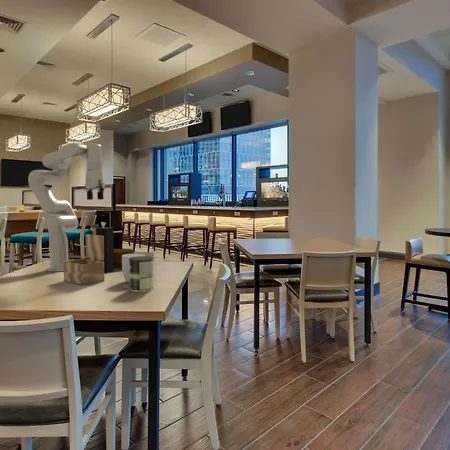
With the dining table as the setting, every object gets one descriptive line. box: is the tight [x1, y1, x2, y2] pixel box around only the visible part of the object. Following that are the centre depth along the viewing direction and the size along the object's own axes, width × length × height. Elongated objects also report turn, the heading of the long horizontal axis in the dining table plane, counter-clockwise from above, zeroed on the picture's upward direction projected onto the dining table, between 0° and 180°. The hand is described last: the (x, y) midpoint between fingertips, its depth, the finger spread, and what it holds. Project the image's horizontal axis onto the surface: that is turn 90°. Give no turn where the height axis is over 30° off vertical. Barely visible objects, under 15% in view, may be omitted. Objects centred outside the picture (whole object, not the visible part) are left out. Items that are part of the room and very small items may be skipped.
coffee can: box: [129, 255, 154, 293], centre depth 158 cm, size 10×10×14 cm
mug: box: [121, 253, 146, 284], centre depth 175 cm, size 15×11×13 cm
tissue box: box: [93, 221, 115, 274], centre depth 199 cm, size 8×8×28 cm
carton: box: [63, 258, 105, 286], centre depth 176 cm, size 16×12×10 cm
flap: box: [85, 223, 104, 260], centre depth 180 cm, size 15×18×2 cm
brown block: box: [114, 248, 135, 269], centre depth 215 cm, size 18×18×10 cm
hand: (95, 199), depth 191 cm, fingers open, 9 cm apart
